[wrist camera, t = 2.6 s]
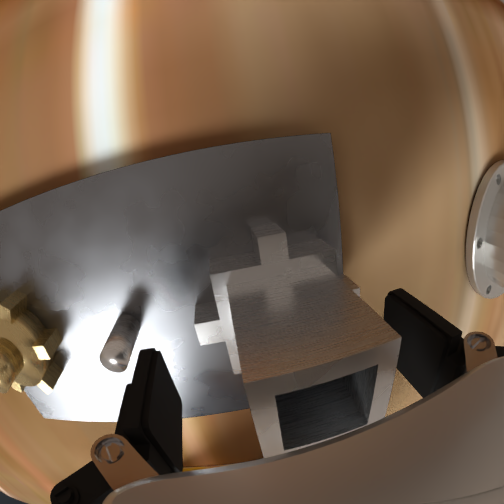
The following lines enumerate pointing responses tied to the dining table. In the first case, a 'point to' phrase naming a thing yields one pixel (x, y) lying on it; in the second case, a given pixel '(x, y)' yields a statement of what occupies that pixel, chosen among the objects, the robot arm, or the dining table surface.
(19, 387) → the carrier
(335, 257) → the square hollow tube
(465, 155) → the dining table surface
